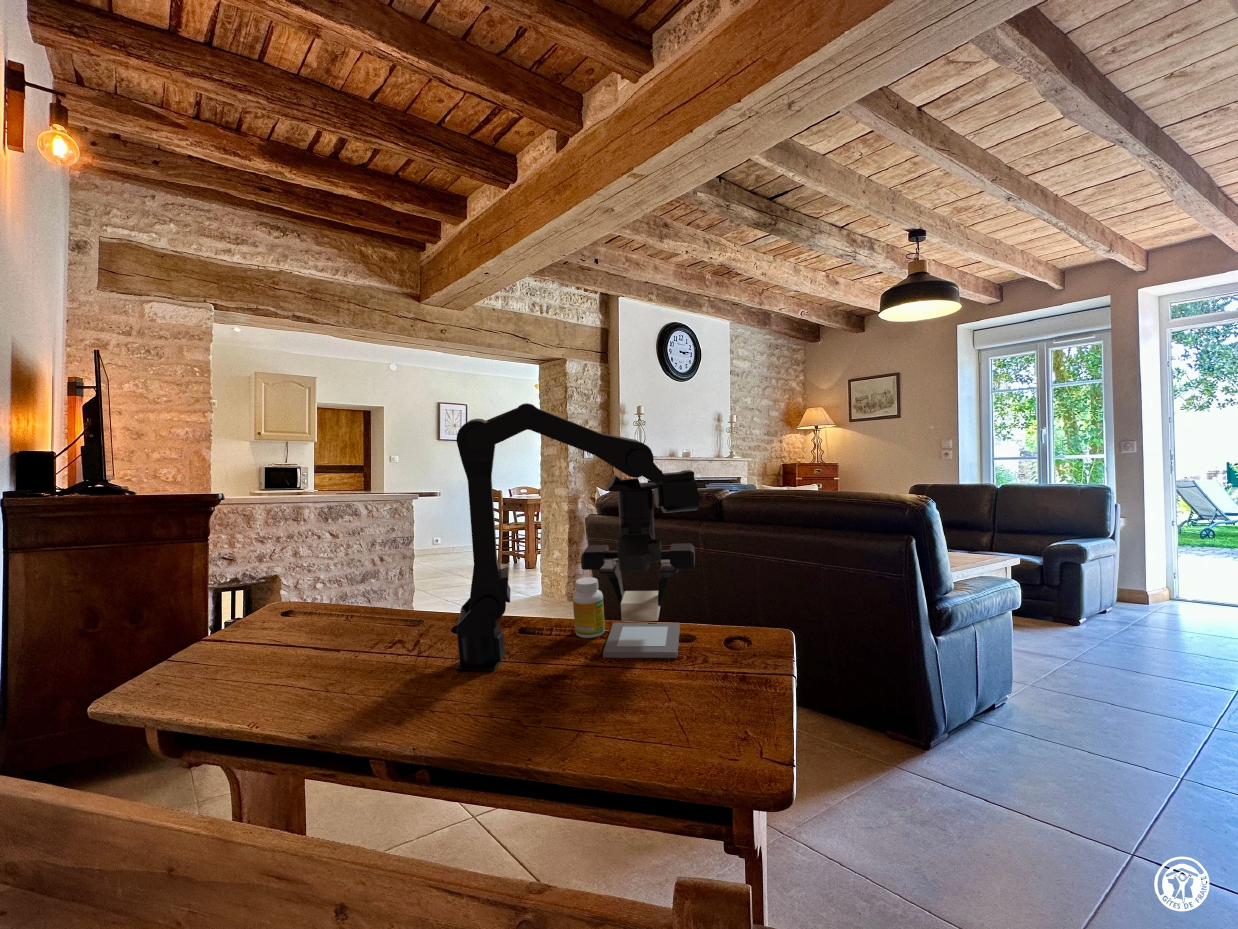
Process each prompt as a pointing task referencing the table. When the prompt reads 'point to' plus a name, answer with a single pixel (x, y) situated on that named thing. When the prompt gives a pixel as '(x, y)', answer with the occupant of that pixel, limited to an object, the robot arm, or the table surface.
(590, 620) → the supplement bottle
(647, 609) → the birch block
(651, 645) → the baseplate
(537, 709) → the table surface
